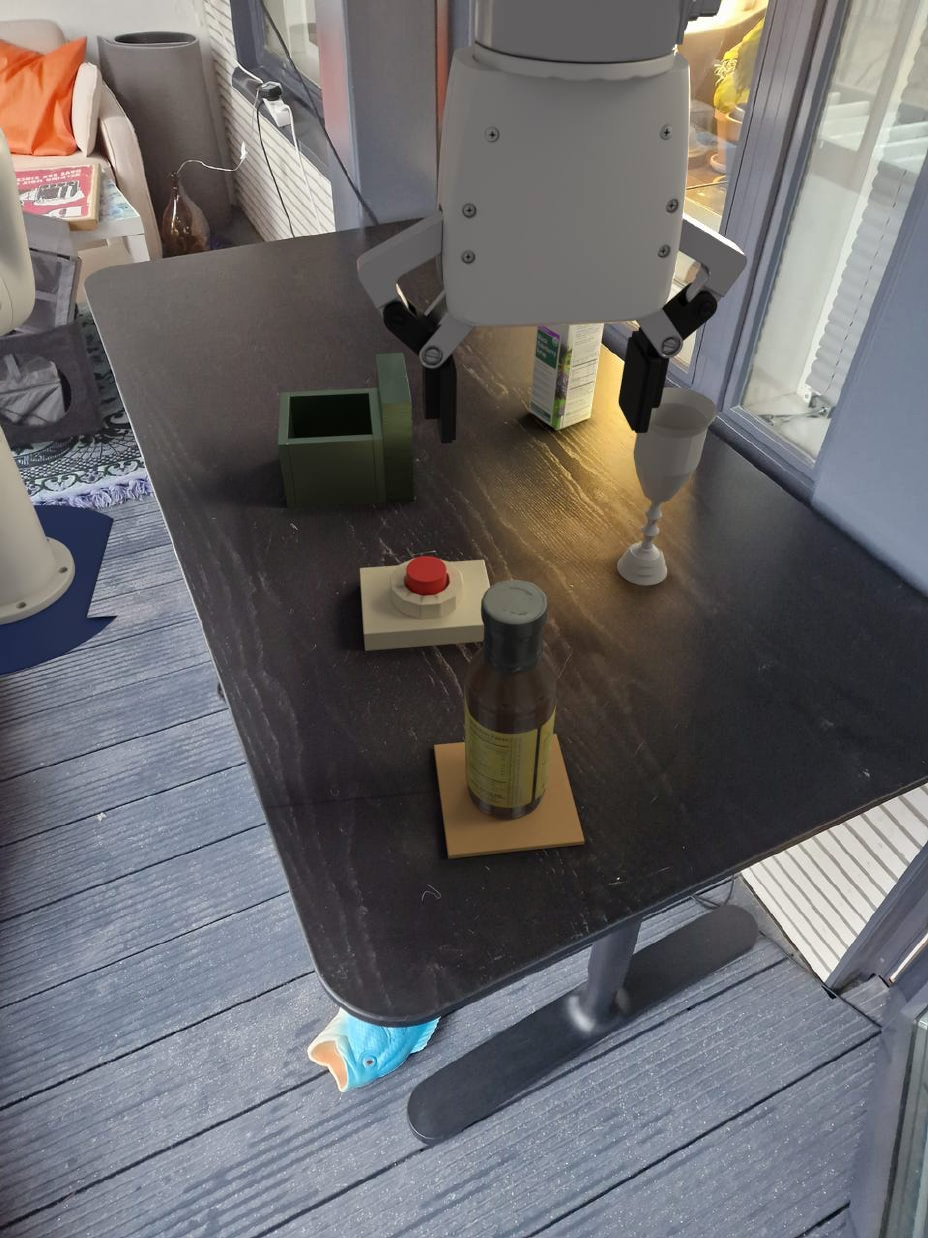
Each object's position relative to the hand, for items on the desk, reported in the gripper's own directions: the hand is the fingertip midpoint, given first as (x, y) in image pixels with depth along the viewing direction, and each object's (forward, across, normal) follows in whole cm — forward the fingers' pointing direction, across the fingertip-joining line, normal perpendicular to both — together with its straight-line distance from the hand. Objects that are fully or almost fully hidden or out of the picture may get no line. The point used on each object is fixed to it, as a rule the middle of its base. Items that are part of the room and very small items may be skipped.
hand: (539, 423), depth 43 cm
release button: (+29, +4, -21) cm, 36 cm away
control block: (+32, +4, -21) cm, 39 cm away
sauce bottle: (+32, 0, 0) cm, 32 cm away
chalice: (+32, -18, -25) cm, 45 cm away
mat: (+32, 0, 0) cm, 32 cm away
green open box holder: (+32, +10, -44) cm, 56 cm away
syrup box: (+32, -16, -55) cm, 66 cm away
